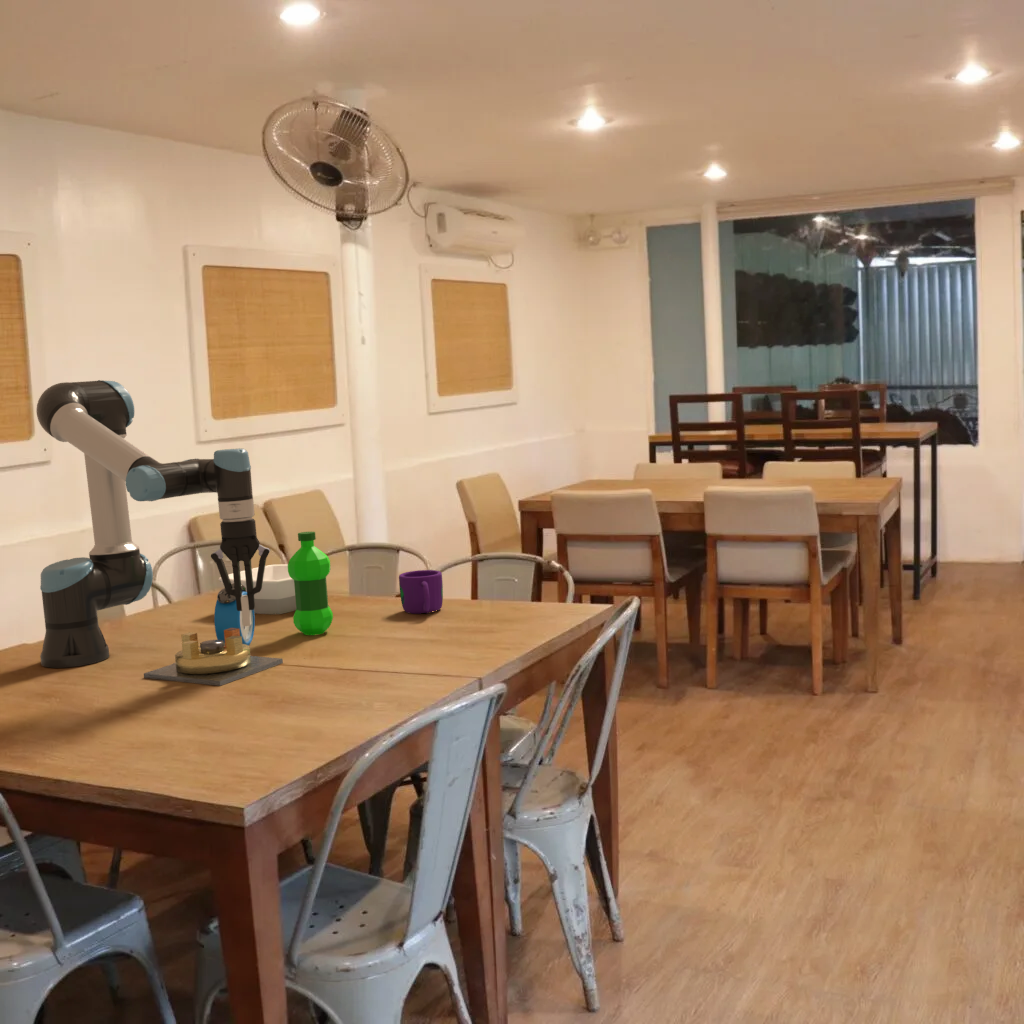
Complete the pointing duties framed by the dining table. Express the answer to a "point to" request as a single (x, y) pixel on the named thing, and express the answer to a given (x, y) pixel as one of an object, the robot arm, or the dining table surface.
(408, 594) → the mug
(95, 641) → the robot arm
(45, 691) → the dining table surface
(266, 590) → the bowl
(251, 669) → the spindle plate
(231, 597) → the alarm clock
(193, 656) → the notched brass disc
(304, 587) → the plastic bottle
